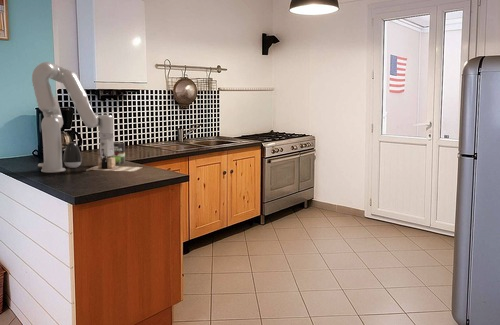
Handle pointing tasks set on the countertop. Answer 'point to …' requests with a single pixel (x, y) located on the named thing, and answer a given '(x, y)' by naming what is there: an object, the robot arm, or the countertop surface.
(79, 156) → the grey egg shaped speaker
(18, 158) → the countertop surface
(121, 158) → the coffee can
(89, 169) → the board
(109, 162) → the sanding block
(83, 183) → the countertop surface
